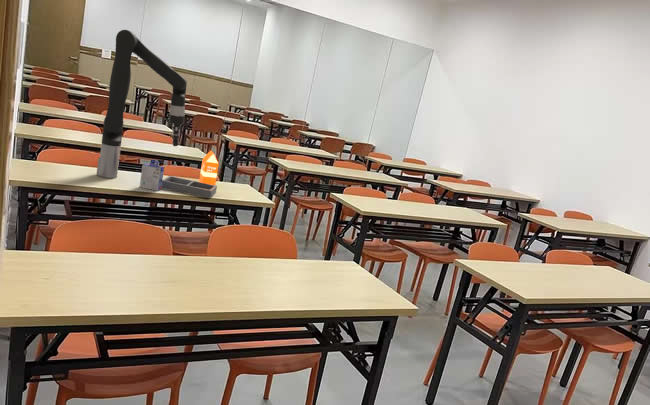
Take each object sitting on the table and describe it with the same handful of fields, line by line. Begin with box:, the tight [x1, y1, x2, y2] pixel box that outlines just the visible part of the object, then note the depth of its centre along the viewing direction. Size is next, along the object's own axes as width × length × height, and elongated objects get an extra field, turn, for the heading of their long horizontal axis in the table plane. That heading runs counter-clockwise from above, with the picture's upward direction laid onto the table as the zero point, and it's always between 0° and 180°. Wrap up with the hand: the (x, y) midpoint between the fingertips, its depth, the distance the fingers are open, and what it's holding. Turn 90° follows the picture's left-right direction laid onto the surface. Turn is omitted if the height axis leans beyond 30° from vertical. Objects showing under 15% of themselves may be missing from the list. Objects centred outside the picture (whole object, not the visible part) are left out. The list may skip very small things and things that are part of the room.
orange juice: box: [198, 150, 219, 185], centre depth 283 cm, size 8×9×20 cm
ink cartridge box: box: [139, 159, 165, 192], centre depth 252 cm, size 10×6×14 cm, turn 89°
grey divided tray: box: [161, 175, 218, 199], centre depth 265 cm, size 27×14×4 cm, turn 91°
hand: (175, 144), depth 260 cm, fingers open, 8 cm apart
